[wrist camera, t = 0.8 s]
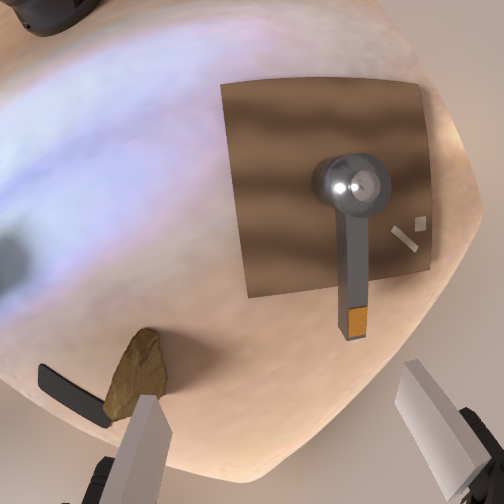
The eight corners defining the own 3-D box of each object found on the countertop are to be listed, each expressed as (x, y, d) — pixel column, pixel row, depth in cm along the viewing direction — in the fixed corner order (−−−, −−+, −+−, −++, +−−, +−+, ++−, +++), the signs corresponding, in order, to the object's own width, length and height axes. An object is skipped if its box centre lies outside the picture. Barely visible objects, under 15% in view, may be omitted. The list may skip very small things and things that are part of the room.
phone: (38, 362, 35) (114, 409, 37) (41, 359, 36) (116, 406, 38) (37, 387, 37) (107, 430, 39) (39, 384, 38) (108, 427, 40)
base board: (221, 90, 27) (220, 84, 25) (409, 87, 26) (418, 84, 24) (248, 290, 32) (248, 298, 30) (421, 264, 32) (430, 270, 30)
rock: (120, 315, 31) (88, 368, 31) (143, 372, 25) (106, 423, 25) (186, 334, 39) (151, 379, 39) (216, 380, 33) (174, 424, 33)
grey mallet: (308, 158, 26) (331, 153, 19) (356, 155, 26) (392, 151, 19) (320, 319, 31) (338, 358, 24) (361, 311, 31) (389, 347, 24)
